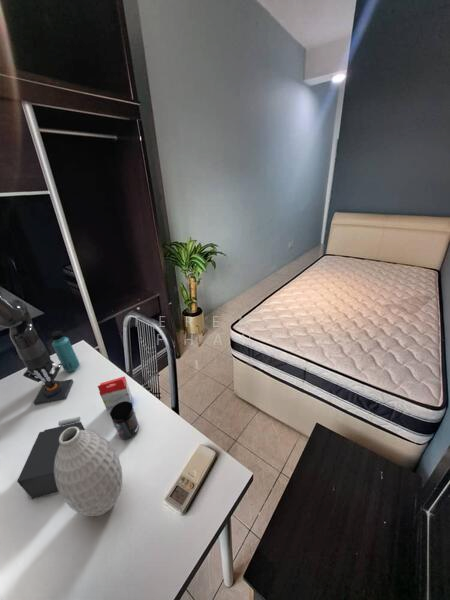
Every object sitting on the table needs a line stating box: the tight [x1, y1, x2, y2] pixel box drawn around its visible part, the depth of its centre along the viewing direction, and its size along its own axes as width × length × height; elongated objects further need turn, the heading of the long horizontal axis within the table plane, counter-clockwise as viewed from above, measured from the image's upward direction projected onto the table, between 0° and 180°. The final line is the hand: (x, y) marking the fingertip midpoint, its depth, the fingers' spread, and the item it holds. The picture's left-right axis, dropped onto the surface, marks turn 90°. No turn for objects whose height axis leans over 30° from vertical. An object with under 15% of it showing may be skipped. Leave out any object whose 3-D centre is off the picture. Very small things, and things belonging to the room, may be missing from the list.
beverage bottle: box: [50, 330, 80, 372], centre depth 105 cm, size 6×7×20 cm
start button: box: [46, 383, 58, 391], centre depth 97 cm, size 4×4×2 cm
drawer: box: [43, 416, 86, 431], centre depth 75 cm, size 17×10×7 cm, turn 13°
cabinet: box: [16, 422, 85, 500], centre depth 71 cm, size 14×12×9 cm
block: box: [32, 378, 74, 406], centre depth 98 cm, size 11×9×4 cm
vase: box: [54, 427, 124, 517], centre depth 59 cm, size 13×13×28 cm
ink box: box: [97, 376, 134, 416], centre depth 88 cm, size 8×5×15 cm, turn 111°
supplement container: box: [109, 401, 140, 440], centre depth 80 cm, size 7×7×10 cm
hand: (52, 386), depth 97 cm, fingers closed
